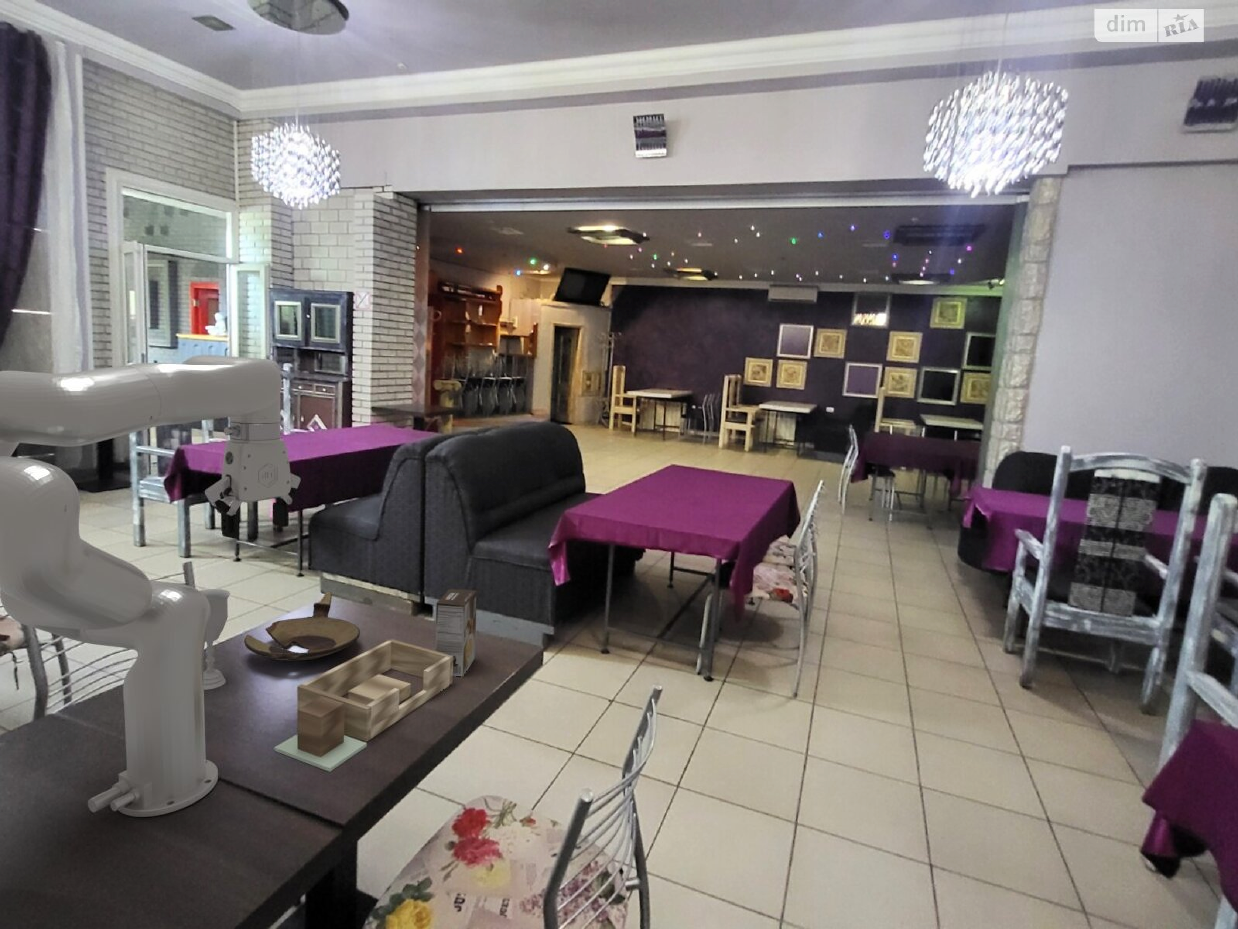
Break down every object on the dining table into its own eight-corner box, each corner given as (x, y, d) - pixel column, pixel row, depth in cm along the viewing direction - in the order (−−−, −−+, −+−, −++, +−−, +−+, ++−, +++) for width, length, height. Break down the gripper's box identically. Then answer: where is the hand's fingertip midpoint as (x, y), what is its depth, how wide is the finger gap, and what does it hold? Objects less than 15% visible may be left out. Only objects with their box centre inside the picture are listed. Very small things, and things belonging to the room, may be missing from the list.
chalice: (240, 677, 131) (238, 591, 128) (215, 693, 124) (214, 603, 121) (205, 673, 131) (203, 587, 129) (179, 689, 125) (177, 599, 122)
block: (320, 757, 106) (320, 717, 105) (297, 749, 108) (297, 709, 107) (343, 742, 110) (344, 703, 109) (321, 734, 112) (321, 696, 111)
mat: (329, 772, 103) (329, 768, 103) (274, 750, 108) (274, 747, 108) (366, 746, 111) (366, 743, 111) (313, 727, 115) (313, 724, 115)
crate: (366, 741, 112) (366, 709, 111) (297, 717, 118) (297, 686, 117) (452, 683, 134) (453, 656, 133) (390, 665, 140) (391, 639, 139)
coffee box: (447, 656, 146) (449, 587, 144) (475, 659, 146) (478, 590, 144) (433, 675, 137) (435, 602, 135) (463, 678, 137) (466, 604, 134)
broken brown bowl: (216, 670, 133) (215, 634, 132) (313, 618, 162) (313, 588, 161) (312, 688, 129) (313, 651, 128) (395, 631, 158) (395, 600, 157)
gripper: (222, 438, 101) (224, 546, 103) (313, 431, 116) (313, 524, 119) (189, 433, 103) (192, 538, 106) (282, 427, 119) (283, 518, 122)
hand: (256, 531), depth 112 cm, fingers open, 9 cm apart
